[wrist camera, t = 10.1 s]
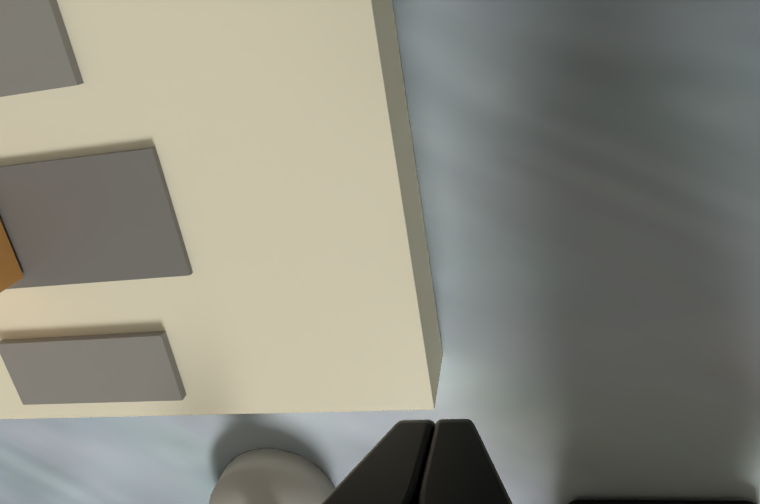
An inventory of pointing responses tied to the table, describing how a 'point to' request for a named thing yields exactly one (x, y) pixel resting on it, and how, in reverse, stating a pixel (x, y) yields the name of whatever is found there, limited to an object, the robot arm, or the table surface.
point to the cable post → (271, 480)
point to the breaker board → (210, 211)
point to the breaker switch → (7, 263)
